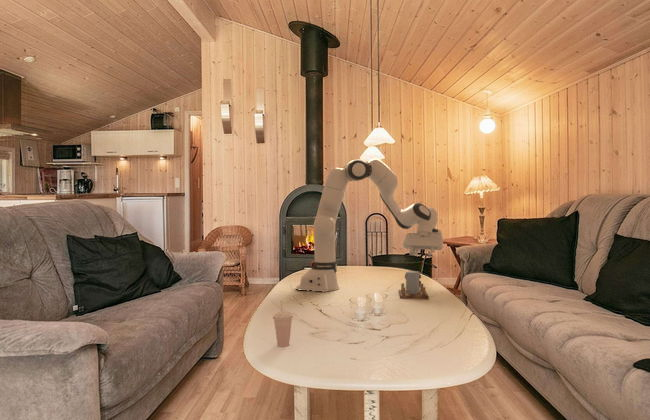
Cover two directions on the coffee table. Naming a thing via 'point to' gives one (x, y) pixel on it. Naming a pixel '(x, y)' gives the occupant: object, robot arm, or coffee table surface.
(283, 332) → the smoothie
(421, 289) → the stand
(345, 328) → the coffee table surface
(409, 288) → the slate block
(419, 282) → the end cap
